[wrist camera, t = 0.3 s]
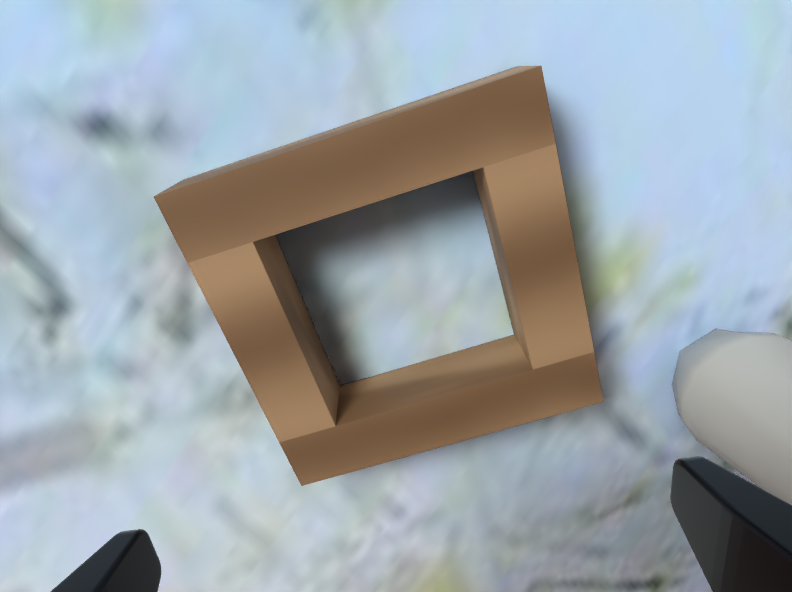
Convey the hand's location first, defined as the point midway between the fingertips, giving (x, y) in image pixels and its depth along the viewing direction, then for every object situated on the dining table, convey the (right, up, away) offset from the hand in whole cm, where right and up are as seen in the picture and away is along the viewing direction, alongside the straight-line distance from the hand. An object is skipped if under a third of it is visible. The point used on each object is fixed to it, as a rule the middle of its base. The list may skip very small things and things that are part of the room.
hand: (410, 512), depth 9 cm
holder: (0, +4, +14) cm, 14 cm away
